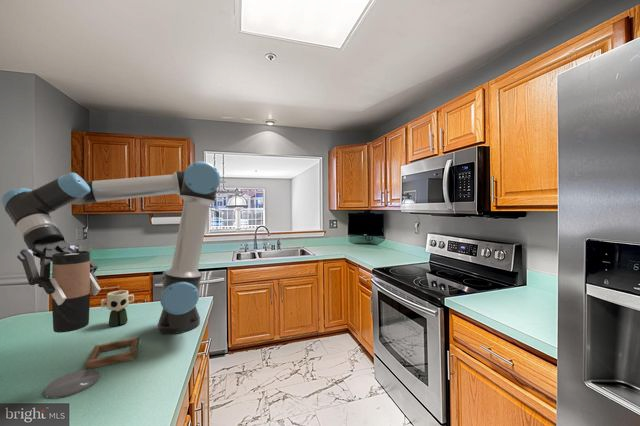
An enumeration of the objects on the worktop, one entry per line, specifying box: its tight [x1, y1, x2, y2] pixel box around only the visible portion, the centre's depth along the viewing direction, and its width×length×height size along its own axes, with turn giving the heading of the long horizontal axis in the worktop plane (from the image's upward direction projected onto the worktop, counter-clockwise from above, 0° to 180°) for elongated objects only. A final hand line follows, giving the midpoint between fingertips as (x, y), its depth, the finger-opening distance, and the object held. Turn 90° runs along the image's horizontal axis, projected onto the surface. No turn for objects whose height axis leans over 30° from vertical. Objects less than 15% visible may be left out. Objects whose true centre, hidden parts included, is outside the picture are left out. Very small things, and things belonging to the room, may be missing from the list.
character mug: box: [100, 289, 135, 327], centre depth 113 cm, size 11×7×13 cm, turn 130°
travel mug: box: [51, 250, 91, 334], centre depth 74 cm, size 8×8×20 cm
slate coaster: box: [44, 368, 101, 398], centre depth 74 cm, size 11×11×1 cm
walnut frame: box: [85, 336, 140, 370], centre depth 89 cm, size 12×12×2 cm
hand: (80, 296), depth 73 cm, fingers closed on travel mug, 7 cm apart
